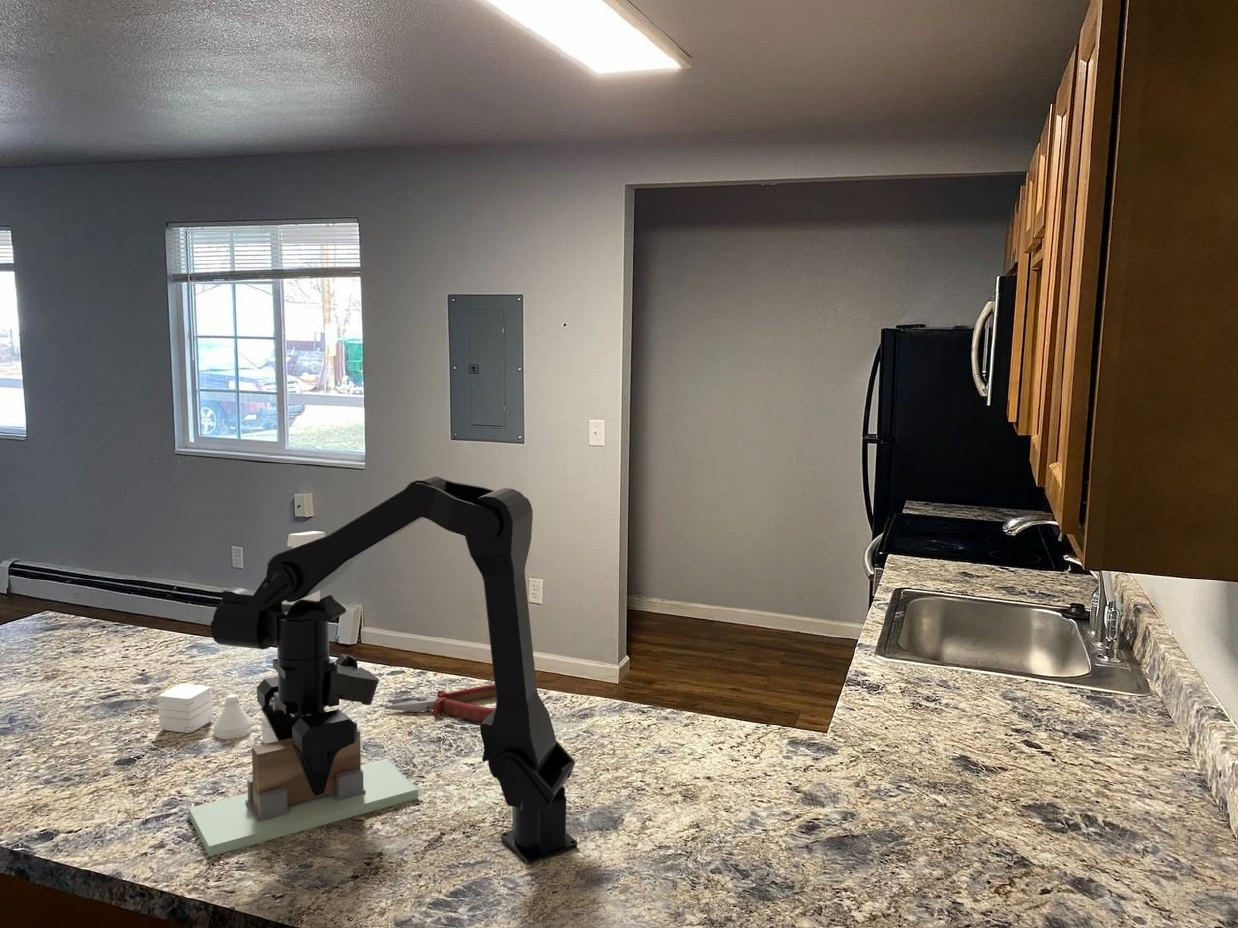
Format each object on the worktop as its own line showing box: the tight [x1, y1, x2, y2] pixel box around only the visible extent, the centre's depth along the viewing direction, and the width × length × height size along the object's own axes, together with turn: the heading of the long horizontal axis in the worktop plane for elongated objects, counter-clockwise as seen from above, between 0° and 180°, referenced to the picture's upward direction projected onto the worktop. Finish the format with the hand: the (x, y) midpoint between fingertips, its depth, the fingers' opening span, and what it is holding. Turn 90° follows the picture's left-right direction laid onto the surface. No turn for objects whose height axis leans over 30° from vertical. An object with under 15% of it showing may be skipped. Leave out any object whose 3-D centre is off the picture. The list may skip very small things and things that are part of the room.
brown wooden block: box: [251, 727, 362, 810], centre depth 113 cm, size 2×12×7 cm, turn 126°
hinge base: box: [188, 758, 419, 858], centre depth 113 cm, size 10×24×4 cm, turn 126°
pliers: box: [384, 684, 496, 723], centre depth 144 cm, size 12×20×3 cm, turn 94°
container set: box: [157, 683, 277, 744], centre depth 134 cm, size 20×5×6 cm, turn 78°
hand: (306, 779), depth 113 cm, fingers open, 9 cm apart
